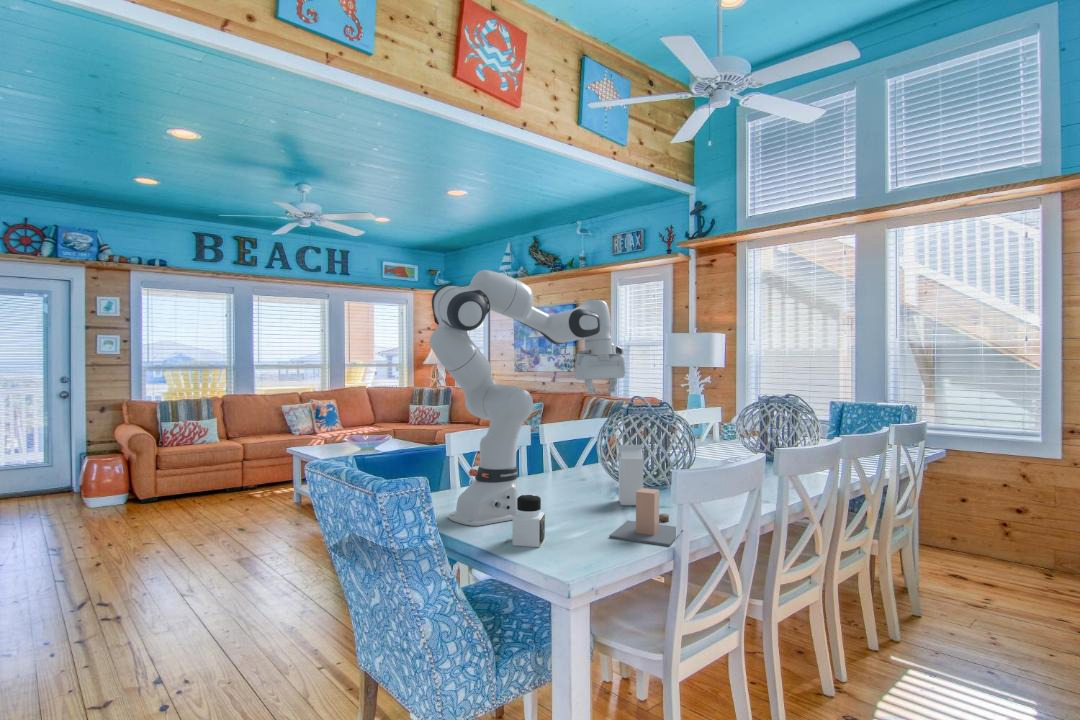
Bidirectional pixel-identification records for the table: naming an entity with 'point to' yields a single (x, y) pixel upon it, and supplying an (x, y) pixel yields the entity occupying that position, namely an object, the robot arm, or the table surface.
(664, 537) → the mat
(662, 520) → the puck
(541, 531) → the medicine bottle
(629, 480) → the milk carton
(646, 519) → the tan upright wooden block
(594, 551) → the table surface
